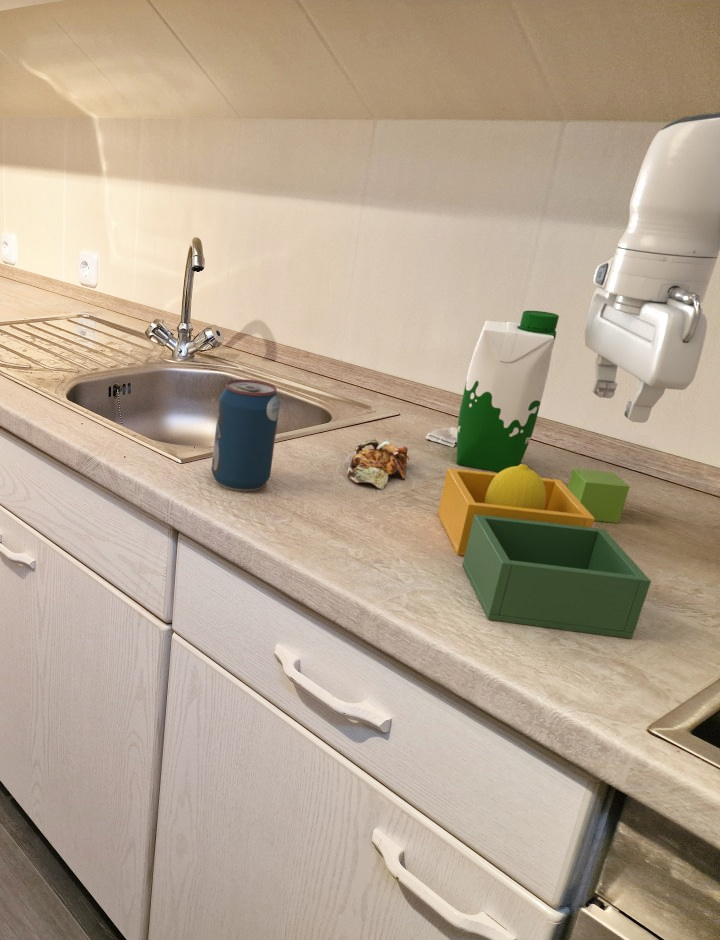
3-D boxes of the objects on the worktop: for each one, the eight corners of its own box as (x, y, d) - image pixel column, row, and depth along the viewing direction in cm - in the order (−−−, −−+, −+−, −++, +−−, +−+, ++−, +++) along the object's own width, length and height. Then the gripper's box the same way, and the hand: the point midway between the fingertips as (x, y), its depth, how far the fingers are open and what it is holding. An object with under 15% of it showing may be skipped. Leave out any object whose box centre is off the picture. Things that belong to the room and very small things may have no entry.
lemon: (478, 520, 93) (495, 451, 90) (534, 531, 91) (553, 461, 88) (476, 539, 89) (493, 467, 86) (535, 551, 86) (555, 478, 83)
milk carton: (523, 479, 108) (564, 321, 100) (447, 465, 111) (481, 312, 104) (523, 458, 115) (561, 310, 108) (451, 446, 119) (483, 302, 111)
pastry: (341, 482, 104) (345, 455, 102) (354, 453, 114) (358, 428, 113) (401, 494, 101) (407, 465, 100) (409, 463, 111) (414, 437, 110)
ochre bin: (547, 526, 94) (560, 479, 92) (580, 570, 84) (595, 518, 82) (437, 513, 96) (447, 467, 94) (457, 555, 86) (468, 504, 84)
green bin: (588, 581, 82) (604, 528, 80) (632, 639, 72) (651, 581, 70) (461, 565, 84) (474, 513, 82) (487, 619, 74) (502, 562, 72)
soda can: (280, 487, 101) (294, 389, 97) (238, 498, 98) (251, 397, 93) (239, 468, 107) (251, 375, 102) (198, 478, 103) (208, 381, 98)
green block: (603, 508, 100) (614, 472, 98) (618, 523, 96) (629, 486, 94) (562, 503, 101) (572, 468, 99) (575, 518, 96) (586, 481, 95)
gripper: (742, 299, 78) (692, 440, 84) (650, 270, 97) (614, 387, 102) (667, 293, 79) (623, 433, 85) (590, 265, 98) (558, 381, 103)
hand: (617, 407), depth 94 cm, fingers open, 8 cm apart
